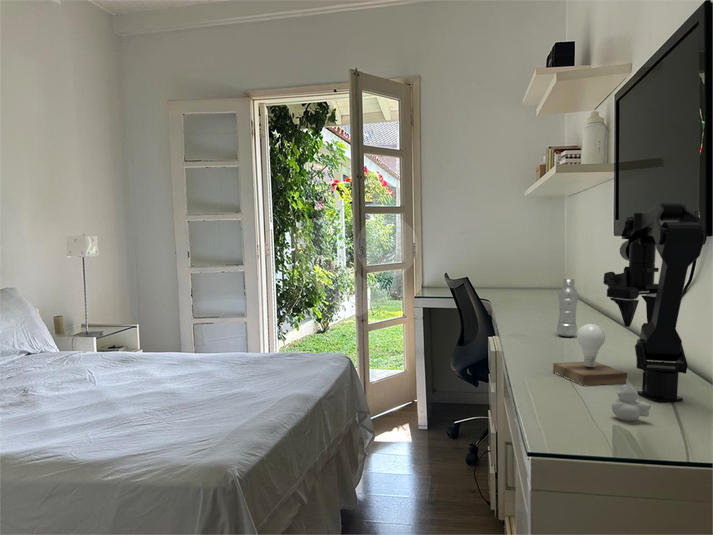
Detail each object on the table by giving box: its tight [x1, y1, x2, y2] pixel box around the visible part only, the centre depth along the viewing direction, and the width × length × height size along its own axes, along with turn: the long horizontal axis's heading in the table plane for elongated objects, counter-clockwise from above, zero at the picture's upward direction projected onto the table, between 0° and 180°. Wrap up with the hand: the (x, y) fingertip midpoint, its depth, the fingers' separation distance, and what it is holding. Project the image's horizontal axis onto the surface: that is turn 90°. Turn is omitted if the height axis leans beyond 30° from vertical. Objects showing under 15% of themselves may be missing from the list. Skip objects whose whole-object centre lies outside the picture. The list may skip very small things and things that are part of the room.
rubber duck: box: [611, 378, 651, 422], centre depth 102 cm, size 5×7×8 cm
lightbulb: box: [576, 323, 606, 368], centre depth 131 cm, size 6×6×11 cm
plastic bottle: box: [556, 278, 579, 338], centre depth 185 cm, size 6×7×20 cm
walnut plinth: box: [552, 361, 628, 386], centre depth 132 cm, size 12×12×2 cm
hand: (638, 325), depth 133 cm, fingers open, 9 cm apart
